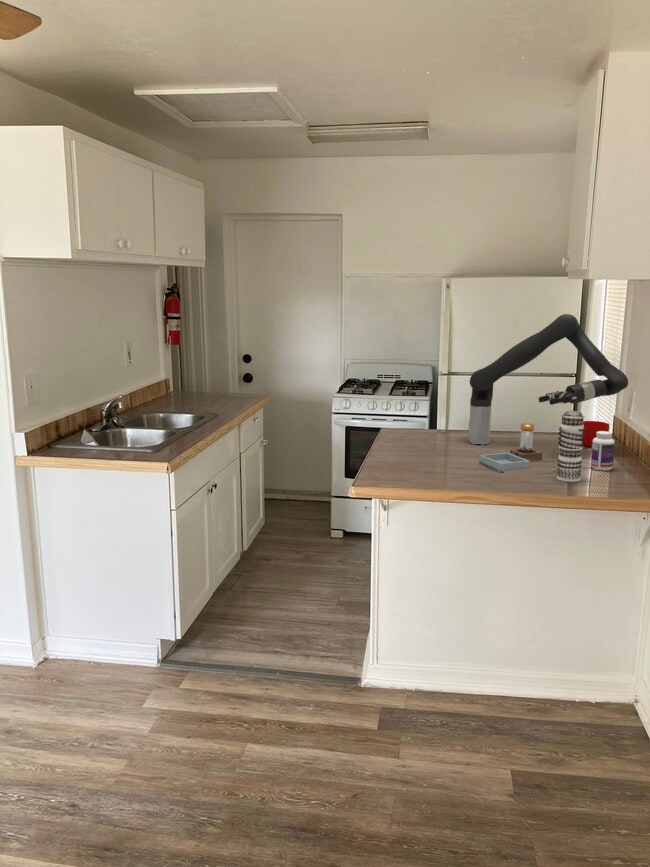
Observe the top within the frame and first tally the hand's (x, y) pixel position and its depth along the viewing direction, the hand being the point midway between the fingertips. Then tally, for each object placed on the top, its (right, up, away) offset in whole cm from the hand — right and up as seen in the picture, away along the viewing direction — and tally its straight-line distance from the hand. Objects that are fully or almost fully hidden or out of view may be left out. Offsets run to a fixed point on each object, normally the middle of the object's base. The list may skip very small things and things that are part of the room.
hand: (544, 401), depth 287 cm
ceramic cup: (+28, -19, +27) cm, 44 cm away
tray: (-18, -26, -7) cm, 32 cm away
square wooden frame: (-7, -24, +2) cm, 25 cm away
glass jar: (-7, -23, +2) cm, 24 cm away
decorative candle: (+2, -30, -24) cm, 38 cm away
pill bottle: (+19, -27, -10) cm, 35 cm away
